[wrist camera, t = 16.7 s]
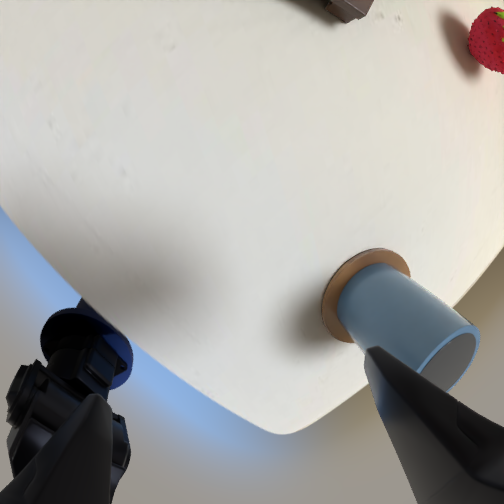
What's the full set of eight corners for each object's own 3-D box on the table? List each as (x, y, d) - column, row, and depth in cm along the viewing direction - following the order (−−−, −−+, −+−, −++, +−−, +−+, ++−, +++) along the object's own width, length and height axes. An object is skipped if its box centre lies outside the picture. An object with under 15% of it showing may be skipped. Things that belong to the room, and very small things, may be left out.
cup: (322, 326, 24) (384, 413, 15) (361, 252, 22) (451, 318, 13) (378, 337, 26) (440, 407, 17) (413, 274, 24) (492, 331, 15)
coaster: (340, 355, 26) (342, 359, 26) (304, 287, 23) (307, 290, 22) (414, 303, 26) (417, 306, 26) (395, 228, 23) (398, 229, 22)
